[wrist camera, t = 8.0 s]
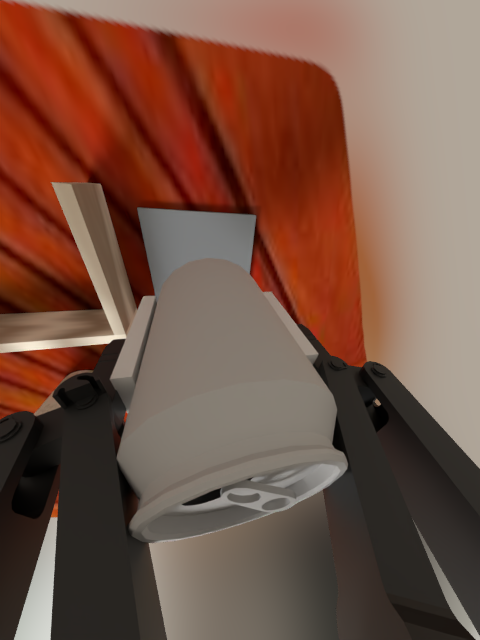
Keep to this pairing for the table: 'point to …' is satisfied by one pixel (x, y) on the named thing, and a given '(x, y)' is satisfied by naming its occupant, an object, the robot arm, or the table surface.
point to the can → (223, 411)
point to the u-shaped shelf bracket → (105, 272)
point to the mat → (194, 239)
